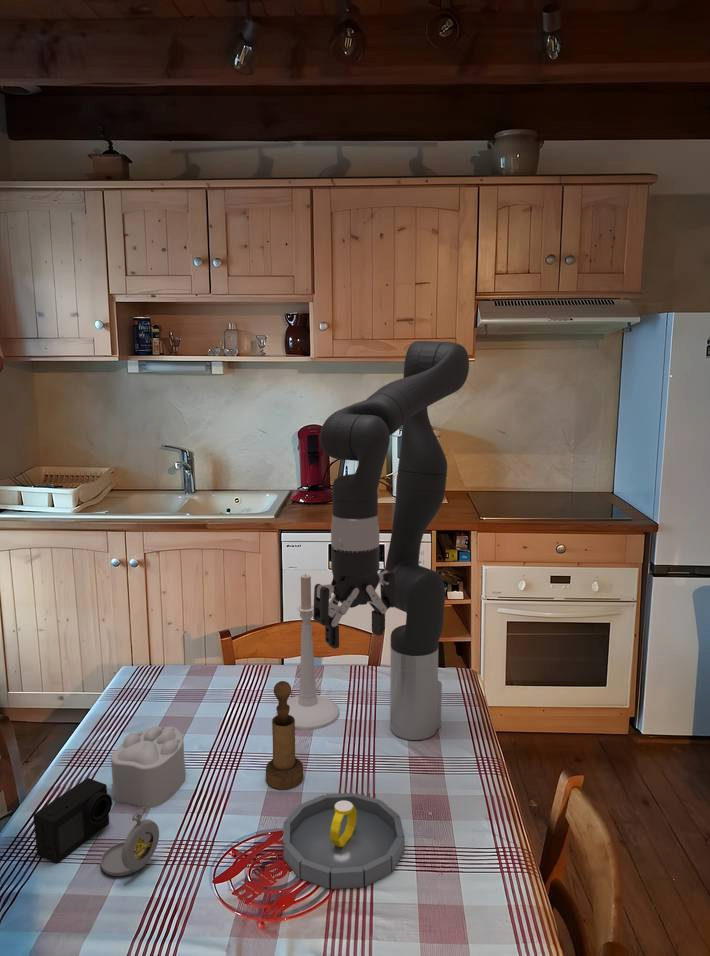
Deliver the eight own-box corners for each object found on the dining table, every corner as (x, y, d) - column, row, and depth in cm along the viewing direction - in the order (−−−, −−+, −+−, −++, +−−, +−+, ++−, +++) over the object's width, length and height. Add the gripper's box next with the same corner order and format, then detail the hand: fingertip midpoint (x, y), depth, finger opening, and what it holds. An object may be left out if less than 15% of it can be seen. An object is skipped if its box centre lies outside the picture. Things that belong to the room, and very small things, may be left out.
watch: (344, 828, 113) (345, 792, 112) (360, 834, 112) (361, 797, 111) (325, 849, 107) (326, 812, 107) (341, 855, 106) (342, 817, 106)
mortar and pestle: (297, 792, 123) (295, 693, 119) (260, 787, 124) (257, 689, 121) (307, 769, 129) (305, 675, 126) (272, 765, 130) (270, 672, 127)
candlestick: (351, 708, 150) (350, 570, 145) (315, 736, 140) (313, 588, 134) (301, 693, 157) (299, 560, 152) (264, 718, 147) (259, 577, 141)
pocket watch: (107, 848, 109) (102, 788, 107) (164, 845, 110) (160, 785, 108) (92, 888, 101) (87, 824, 99) (153, 884, 102) (149, 820, 100)
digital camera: (62, 867, 105) (58, 824, 104) (36, 856, 108) (32, 813, 106) (115, 826, 114) (112, 786, 113) (90, 816, 117) (87, 776, 115)
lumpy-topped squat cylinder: (104, 799, 121) (101, 752, 119) (148, 757, 133) (145, 714, 132) (159, 811, 118) (156, 762, 116) (199, 767, 130) (196, 722, 129)
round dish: (358, 793, 122) (357, 780, 122) (427, 854, 107) (427, 839, 107) (262, 834, 112) (262, 820, 111) (324, 907, 97) (324, 891, 97)
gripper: (377, 530, 120) (377, 623, 122) (303, 544, 112) (305, 643, 115) (406, 540, 113) (405, 637, 116) (329, 555, 105) (330, 659, 108)
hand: (355, 640), depth 115 cm, fingers open, 8 cm apart
